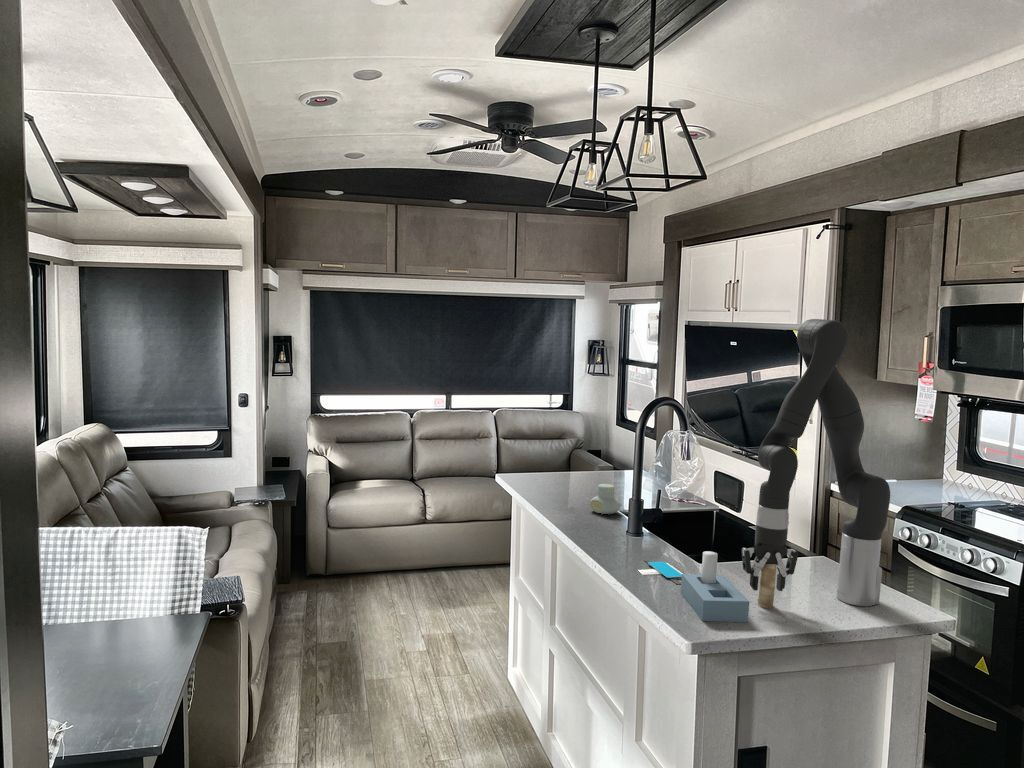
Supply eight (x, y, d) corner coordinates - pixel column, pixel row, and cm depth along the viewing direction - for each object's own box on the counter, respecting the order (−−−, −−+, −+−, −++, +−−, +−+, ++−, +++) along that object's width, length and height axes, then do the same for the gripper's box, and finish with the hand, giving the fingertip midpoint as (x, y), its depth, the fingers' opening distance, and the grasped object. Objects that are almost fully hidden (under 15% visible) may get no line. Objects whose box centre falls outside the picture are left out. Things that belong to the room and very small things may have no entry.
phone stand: (624, 562, 219) (625, 557, 219) (662, 560, 222) (662, 555, 222) (656, 587, 200) (656, 581, 200) (696, 585, 203) (697, 579, 203)
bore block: (722, 593, 196) (725, 548, 195) (747, 621, 178) (751, 572, 177) (680, 592, 196) (683, 547, 194) (702, 621, 178) (705, 571, 177)
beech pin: (769, 602, 191) (773, 560, 190) (775, 608, 188) (779, 565, 187) (755, 602, 191) (759, 560, 190) (761, 608, 188) (764, 565, 186)
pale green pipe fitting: (623, 515, 270) (625, 487, 269) (607, 517, 265) (608, 489, 264) (602, 507, 279) (604, 481, 278) (585, 510, 274) (587, 483, 273)
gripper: (793, 520, 192) (788, 585, 193) (738, 518, 191) (733, 583, 192) (807, 529, 184) (801, 596, 186) (749, 527, 183) (744, 594, 185)
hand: (766, 589), depth 189 cm, fingers open, 5 cm apart
